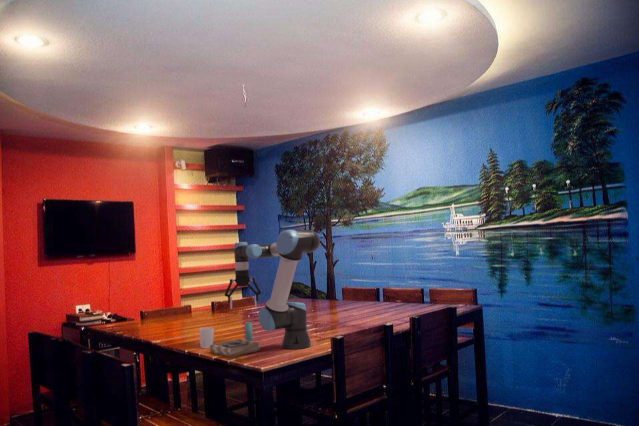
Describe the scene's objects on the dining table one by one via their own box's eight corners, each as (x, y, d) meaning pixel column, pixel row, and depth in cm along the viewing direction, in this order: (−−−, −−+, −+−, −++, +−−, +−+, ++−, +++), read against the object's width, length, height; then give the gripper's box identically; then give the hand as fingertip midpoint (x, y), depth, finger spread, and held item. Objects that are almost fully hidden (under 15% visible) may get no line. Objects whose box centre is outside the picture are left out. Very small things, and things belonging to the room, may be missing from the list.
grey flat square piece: (259, 350, 240) (259, 342, 240) (229, 357, 227) (229, 348, 228) (239, 346, 253) (239, 338, 253) (210, 352, 240) (210, 344, 241)
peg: (254, 344, 257) (253, 322, 258) (248, 345, 254) (247, 323, 255) (250, 343, 260) (249, 321, 260) (244, 344, 257) (243, 322, 258)
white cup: (215, 345, 259) (215, 327, 259) (212, 348, 251) (212, 329, 252) (201, 346, 258) (200, 327, 259) (197, 349, 250) (197, 330, 251)
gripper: (264, 268, 268) (266, 305, 266) (220, 271, 266) (221, 308, 264) (264, 268, 260) (265, 307, 258) (218, 271, 258) (220, 310, 256)
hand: (243, 308), depth 261 cm, fingers open, 13 cm apart
